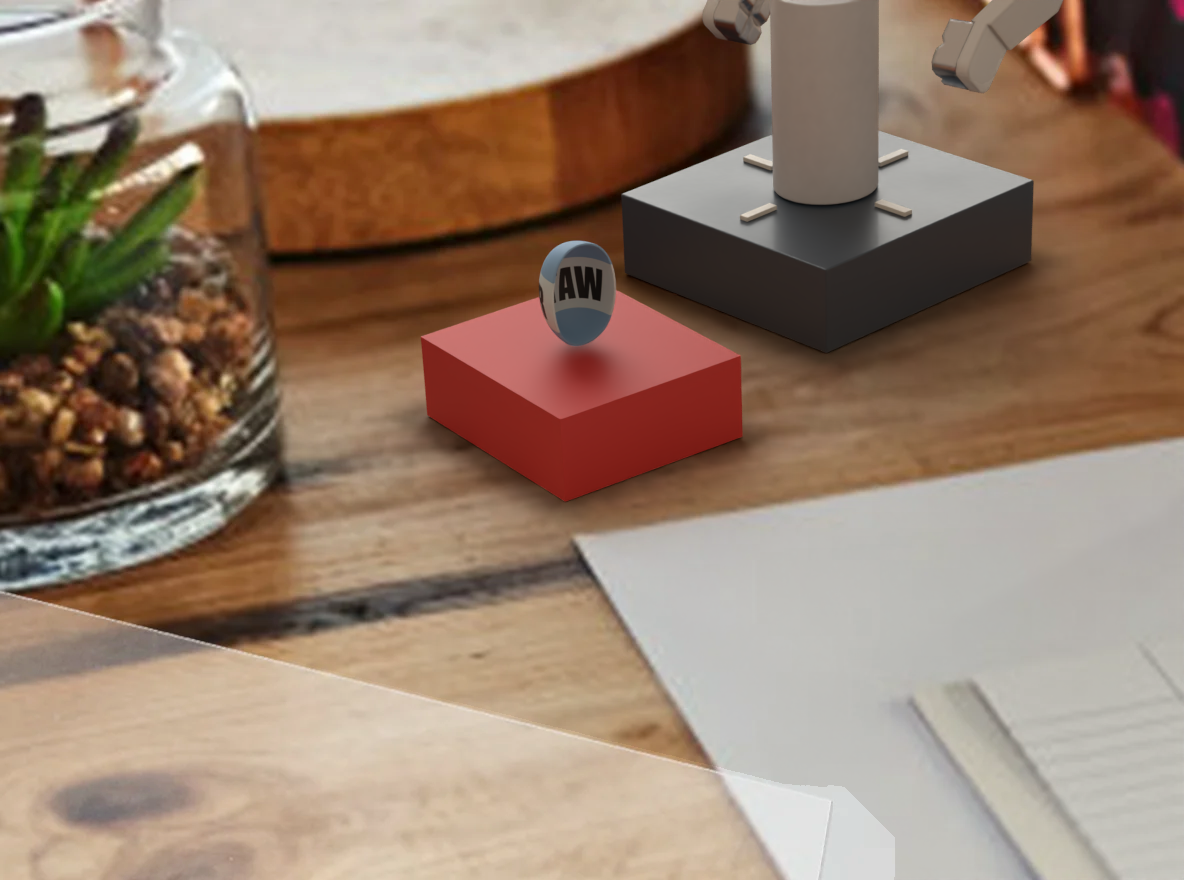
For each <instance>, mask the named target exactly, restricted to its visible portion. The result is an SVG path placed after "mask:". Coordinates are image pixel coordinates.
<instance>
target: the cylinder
mask: <svg viewBox="0 0 1184 880" xmlns="http://www.w3.org/2000/svg"><path fill="white" fill-rule="evenodd" d="M769 21H770V25H769V27H770V30H769V31H770V84H771V85H770V86H771V89H770V90H771V93H770V94H771V135H772V155H773V188H774V190H775V192H776V193H777V194H778V195H779V196H781V197H783V198H785V199H787V200H790V201H793V202H797V203H803V204H811V205H831V204H840V203H846V202H851V201H855V200H858V199H861V198H863V197H865V196H867V195H869V194H871V193H872V192H873V191H874V190H875V189H876V188H877V185H878V156H879V131H880V130H879V129H880V126H879V123H880V121H879V120H880V117H879V114H880V113H879V112H880V111H879V110H880V107H879V106H880V105H879V103H880V102H879V101H880V100H879V99H880V98H879V97H880V96H879V95H880V93H879V92H880V91H879V90H880V83H879V82H880V0H770V16H769Z"/></svg>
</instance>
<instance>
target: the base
mask: <svg viewBox="0 0 1184 880" xmlns="http://www.w3.org/2000/svg"><path fill="white" fill-rule="evenodd" d="M1034 183H1035V181H1034V179H1030V178H1027V177H1024V176H1022V175H1019V174H1015V173H1012V172H1009V171H1006V170H1003V169H1000V168H997V167H994V166H990V165H987V164H984V163H981V162H977V161H976V160H971V159H969V158H965V157H962V156H959V155H956V154H954V153H950V152H946V151H944V150H941V149H937V148H934V147H931V146H929V145H925V144H922V143H919V142H916V141H912V140H910V139H907V138H904V137H901V136H897V135H895V134H892V133H889V132H885V131H881V130H879V156H878V185H877V188H876V189H875V190H874V191H873V192H872V193H871V194H869V195H867V196H865V197H863V198H861V199H858V200H855V201H851V202H846V203H840V204H831V205H811V204H803V203H797V202H793V201H790V200H787V199H785V198H783V197H781V196H779V195H778V194H777V193H776V192H775V190H774V188H773V155H772V134H769V135H767V136H765V137H761V138H760V139H757V140H754V141H752V142H749V143H747V144H745V145H741V146H739V147H737V148H734V149H732V150H729V151H726V152H724V153H721V154H719V155H717V156H714V157H712V158H708V159H706V160H704V161H701V162H699V163H696V164H693V165H691V166H689V167H687V168H684V169H681V170H679V171H676V172H673V173H671V174H668V175H667V176H663V177H661V178H658V179H656V180H654V181H651V182H649V183H646V184H643V185H641V186H638V187H636V188H634V189H631V190H628V191H626V192H623V193H621V196H620V197H621V216H622V217H621V220H622V238H623V240H622V241H623V259H624V260H623V262H624V265H623V266H624V273H625V274H626V275H628V276H631V277H633V278H636V279H638V280H641V281H642V282H646V283H647V284H651V285H653V286H656V287H659V288H661V289H664V290H666V291H668V292H671V293H672V294H673V293H674V294H676V295H679V296H681V297H684V298H687V299H688V300H691V301H694V302H696V303H699V304H701V305H703V306H706V307H709V308H711V309H714V310H717V311H719V312H722V313H724V314H726V315H729V316H732V317H733V318H734V317H735V318H736V319H739V320H741V321H744V322H747V323H750V324H752V325H754V326H757V327H760V328H762V329H765V330H767V331H770V332H772V333H774V334H777V335H779V336H782V337H784V338H787V339H790V340H792V341H795V342H797V343H800V344H802V345H805V346H808V347H810V348H813V349H815V350H817V351H820V352H823V353H824V354H827V353H831V352H832V351H835V350H837V349H838V348H841V347H843V346H845V345H847V344H850V343H853V342H854V341H856V340H858V339H861V338H864V337H865V336H868V335H870V334H872V333H875V332H876V331H878V330H881V329H883V328H886V327H888V326H890V325H892V324H894V323H896V322H899V321H900V320H903V319H906V318H908V317H910V316H912V315H915V314H917V313H919V312H921V311H923V310H926V309H928V308H930V307H932V306H935V305H937V304H939V303H941V302H944V301H945V300H948V299H951V298H952V297H956V296H957V295H959V294H961V293H963V292H966V291H967V290H970V289H972V288H975V287H976V286H979V285H981V284H983V283H986V282H988V281H990V280H993V279H995V278H996V277H997V278H998V277H999V276H1002V275H1003V274H1006V273H1008V272H1011V271H1013V270H1015V269H1017V268H1019V267H1021V266H1024V265H1027V264H1028V263H1030V262H1031V261H1032V247H1033V217H1034V185H1035V184H1034Z"/></svg>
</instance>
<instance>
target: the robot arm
mask: <svg viewBox="0 0 1184 880" xmlns="http://www.w3.org/2000/svg"><path fill="white" fill-rule="evenodd" d="M1063 2H1064V0H990V1H989V2H988V3H987V4H986V5H985V6H984V7H983V8H982V9H981V10H980V11H979V12H978V13H977V14H976V15H975V16H974V17H973V18H972V19H971V20H970V21H969V20H963V19H957V18H951V17H949V19H948V21H947V24H946V25H945V28H944V30H943V33H942V34H941V39H942V43H940V45H938V46H937V47H936V48H935V50H934V53H933V54H932V59H931V70H932V72H933V73H934V74H935V76H937V77H939V78H940V79H941V80H940V82H941V83H942V84H943V86H948V87H952V88H957V89H961V90H966V91H969V92H972V93H978V94H985V93H987V92H988V91H989V90H990V88H991V86H992V83H993V82H994V79H995V77H996V75H997V73H998V71H999V69H1000V66H1001V64H1002V62H1003V60H1004V57H1006V53H1007V51H1012V50H1013V49H1015V47H1016V46H1017V45H1019V44H1020V43H1021V42H1023V41H1024V40H1025V39H1027V38H1028V37H1029V36H1031V34H1033V33H1034V32H1035V31H1036V30H1038V29H1039V28H1040V27H1041V26H1042V25H1044V24H1045V23H1046V22H1047V21H1049V20H1050V19H1051V18H1052V17H1054V16H1055V15H1056V14H1058V12H1059V10H1060V8H1061V7H1062V4H1063ZM701 17H702V23H703V25H704V26H705V28H706V29H707V30H708V31H709V32H710V33H711V34H712V35H713V36H714V37H715V38H716V39H719V40H724V41H728V42H732V43H733V42H734V43H739V44H744V45H748V46H751V45H756V43H757V42H758V41H759V39H760V38H761V35H762V33H763V31H762V26H763V25H765V23H767V22H768V20H769V19H770V0H707V1H706V2H705V5H704V7H703V10H702V16H701Z"/></svg>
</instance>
